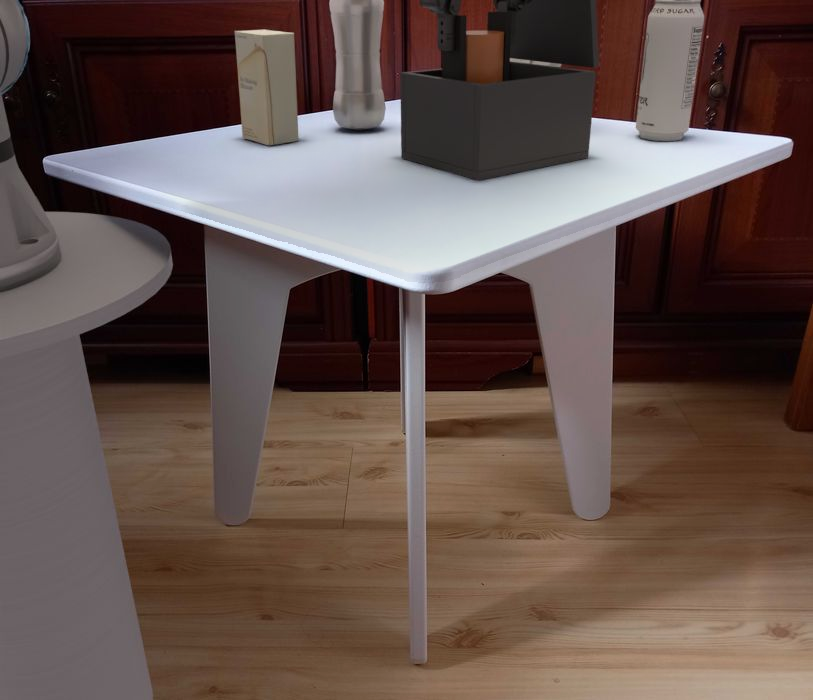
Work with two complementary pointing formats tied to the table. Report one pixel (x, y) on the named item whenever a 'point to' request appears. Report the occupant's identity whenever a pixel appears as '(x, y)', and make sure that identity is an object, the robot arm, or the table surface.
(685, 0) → the energy drink can
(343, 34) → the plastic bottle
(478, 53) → the orange cylinder
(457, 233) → the table surface
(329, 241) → the table surface
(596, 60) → the box lid
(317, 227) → the table surface
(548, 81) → the open lidded box
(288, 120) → the cosmetic box
